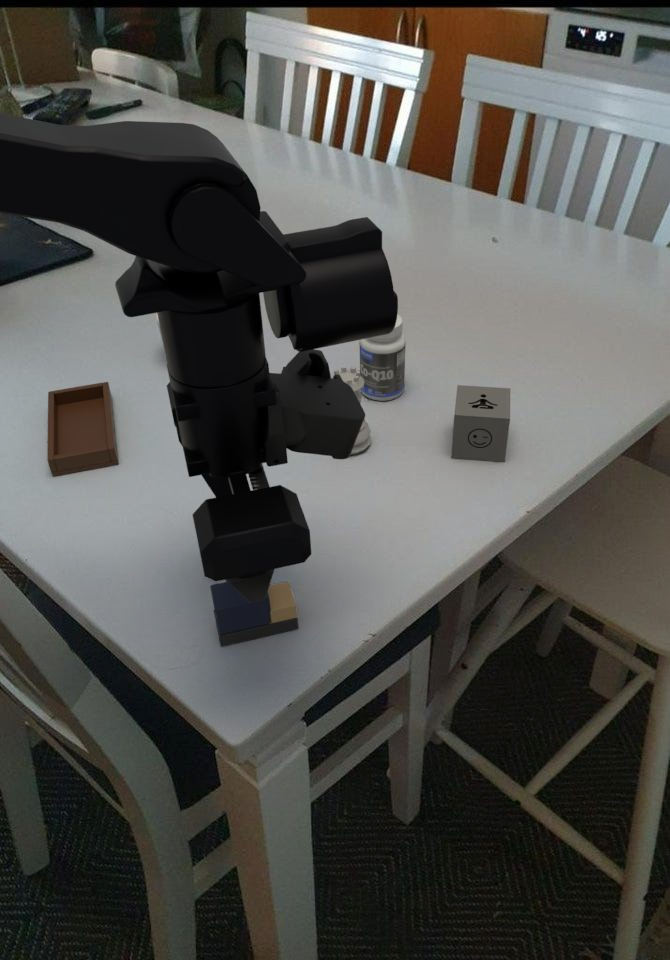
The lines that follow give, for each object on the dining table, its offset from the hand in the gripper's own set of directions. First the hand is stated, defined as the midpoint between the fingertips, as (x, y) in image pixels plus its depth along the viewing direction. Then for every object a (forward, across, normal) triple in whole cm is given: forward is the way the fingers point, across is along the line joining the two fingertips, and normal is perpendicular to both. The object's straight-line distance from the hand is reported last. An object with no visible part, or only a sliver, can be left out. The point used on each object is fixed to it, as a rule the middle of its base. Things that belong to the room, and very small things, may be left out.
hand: (244, 552), depth 57 cm
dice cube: (+8, +16, -25) cm, 31 cm away
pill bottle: (+8, +28, -19) cm, 35 cm away
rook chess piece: (+8, +20, -13) cm, 25 cm away
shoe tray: (+8, +30, +12) cm, 33 cm away
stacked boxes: (+8, 0, 0) cm, 8 cm away
